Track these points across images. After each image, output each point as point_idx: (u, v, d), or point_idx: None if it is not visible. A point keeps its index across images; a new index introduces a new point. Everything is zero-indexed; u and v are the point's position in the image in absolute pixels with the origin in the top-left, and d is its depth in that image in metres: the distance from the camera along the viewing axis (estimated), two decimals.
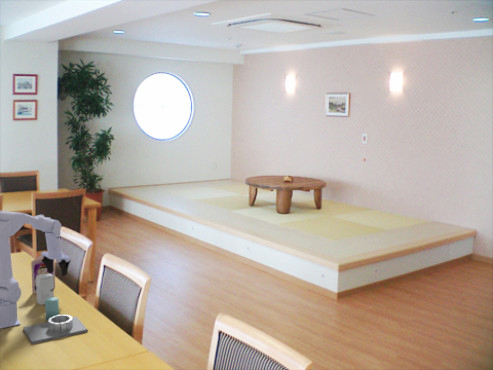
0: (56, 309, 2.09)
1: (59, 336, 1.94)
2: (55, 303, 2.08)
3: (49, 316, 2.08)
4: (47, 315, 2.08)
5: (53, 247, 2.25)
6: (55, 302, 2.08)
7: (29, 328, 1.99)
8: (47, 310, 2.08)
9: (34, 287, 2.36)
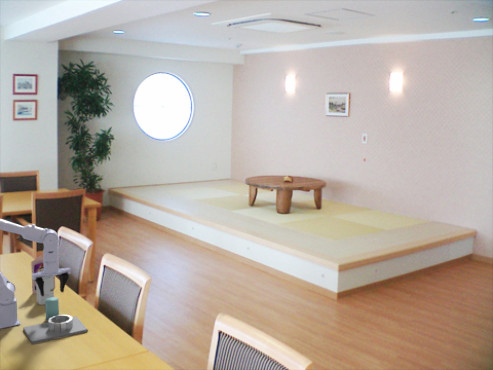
0: (56, 309, 2.09)
1: (59, 336, 1.94)
2: (55, 303, 2.08)
3: (49, 316, 2.08)
4: (47, 315, 2.08)
5: (44, 261, 2.05)
6: (55, 302, 2.08)
7: (29, 328, 1.99)
8: (47, 310, 2.08)
9: (34, 287, 2.36)
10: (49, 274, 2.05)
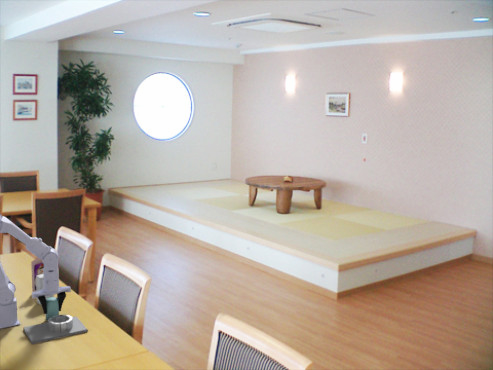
0: (56, 309, 2.09)
1: (59, 336, 1.94)
2: (55, 303, 2.08)
3: (49, 316, 2.08)
4: (47, 315, 2.08)
5: (44, 280, 2.06)
6: (55, 302, 2.08)
7: (29, 328, 1.99)
8: (47, 310, 2.08)
9: (34, 287, 2.36)
10: (49, 293, 2.06)
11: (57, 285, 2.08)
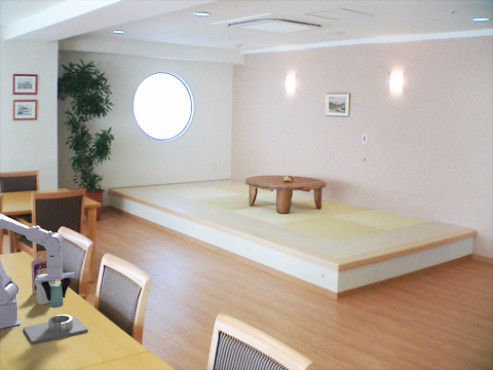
0: (60, 295, 2.03)
1: (59, 336, 1.94)
2: (59, 289, 2.02)
3: (53, 303, 2.02)
4: (51, 302, 2.02)
5: (47, 265, 2.00)
6: (59, 288, 2.02)
7: (29, 328, 1.99)
8: (51, 296, 2.02)
9: (34, 287, 2.36)
10: (53, 279, 2.00)
11: (61, 271, 2.02)
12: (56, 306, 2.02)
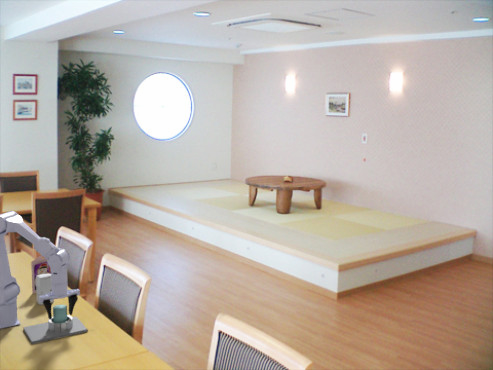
0: (64, 317, 1.99)
1: (59, 336, 1.94)
2: (64, 311, 1.98)
3: None
4: None
5: (51, 282, 1.97)
6: (64, 309, 1.98)
7: (29, 328, 1.99)
8: (55, 318, 1.98)
9: (34, 287, 2.36)
10: (57, 296, 1.96)
11: (66, 288, 1.98)
12: None
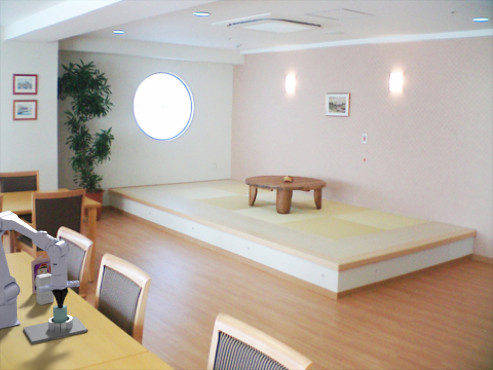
0: (64, 317, 1.99)
1: (59, 336, 1.94)
2: (64, 311, 1.98)
3: None
4: None
5: (51, 273, 1.96)
6: (64, 309, 1.98)
7: (29, 328, 1.99)
8: (55, 318, 1.98)
9: (34, 287, 2.36)
10: (57, 287, 1.95)
11: (65, 279, 1.97)
12: None
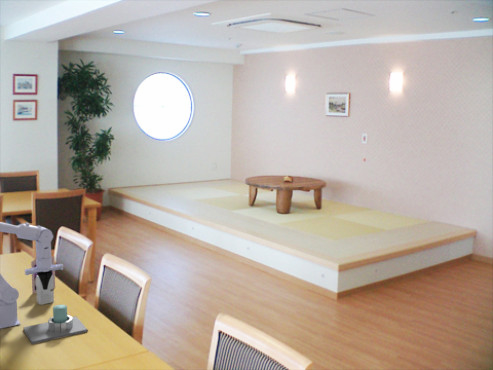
0: (64, 317, 1.99)
1: (59, 336, 1.94)
2: (64, 311, 1.98)
3: None
4: None
5: (39, 258, 2.09)
6: (64, 309, 1.98)
7: (29, 328, 1.99)
8: (55, 318, 1.98)
9: (34, 287, 2.36)
10: (41, 270, 2.10)
11: (49, 262, 2.11)
12: None
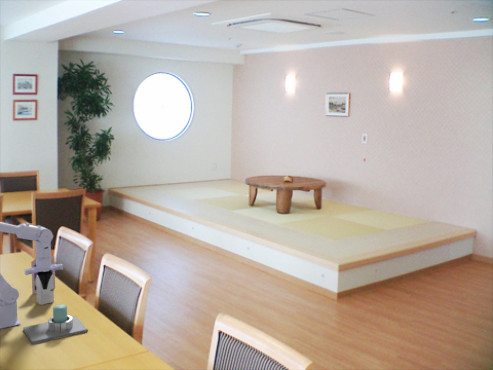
0: (64, 317, 1.99)
1: (59, 336, 1.94)
2: (64, 311, 1.98)
3: None
4: None
5: (39, 258, 2.09)
6: (64, 309, 1.98)
7: (29, 328, 1.99)
8: (55, 318, 1.98)
9: (34, 287, 2.36)
10: (41, 270, 2.10)
11: (49, 262, 2.12)
12: None
